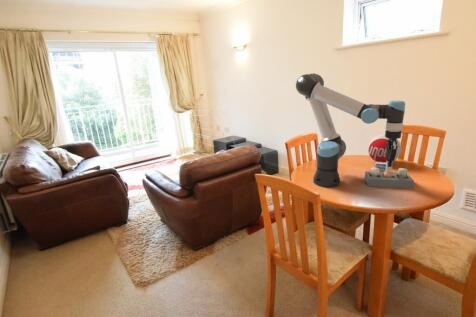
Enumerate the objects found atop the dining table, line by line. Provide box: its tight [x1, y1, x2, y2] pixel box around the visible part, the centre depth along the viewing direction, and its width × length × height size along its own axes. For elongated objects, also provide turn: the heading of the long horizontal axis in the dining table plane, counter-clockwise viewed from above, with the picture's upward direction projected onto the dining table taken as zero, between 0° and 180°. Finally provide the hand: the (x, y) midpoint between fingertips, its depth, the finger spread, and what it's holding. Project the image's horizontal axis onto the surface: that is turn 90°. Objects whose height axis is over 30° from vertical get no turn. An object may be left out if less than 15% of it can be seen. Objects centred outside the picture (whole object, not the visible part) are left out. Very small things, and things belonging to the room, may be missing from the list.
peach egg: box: [384, 171, 394, 178], centre depth 149 cm, size 4×4×6 cm
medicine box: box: [374, 161, 386, 172], centre depth 159 cm, size 8×4×9 cm, turn 62°
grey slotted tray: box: [364, 170, 415, 189], centre depth 150 cm, size 22×12×4 cm, turn 74°
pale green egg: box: [397, 167, 409, 178], centre depth 147 cm, size 4×4×6 cm
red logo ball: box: [367, 133, 402, 163], centre depth 180 cm, size 20×20×20 cm
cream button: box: [370, 166, 380, 177], centre depth 151 cm, size 4×4×6 cm
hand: (388, 171), depth 148 cm, fingers closed
